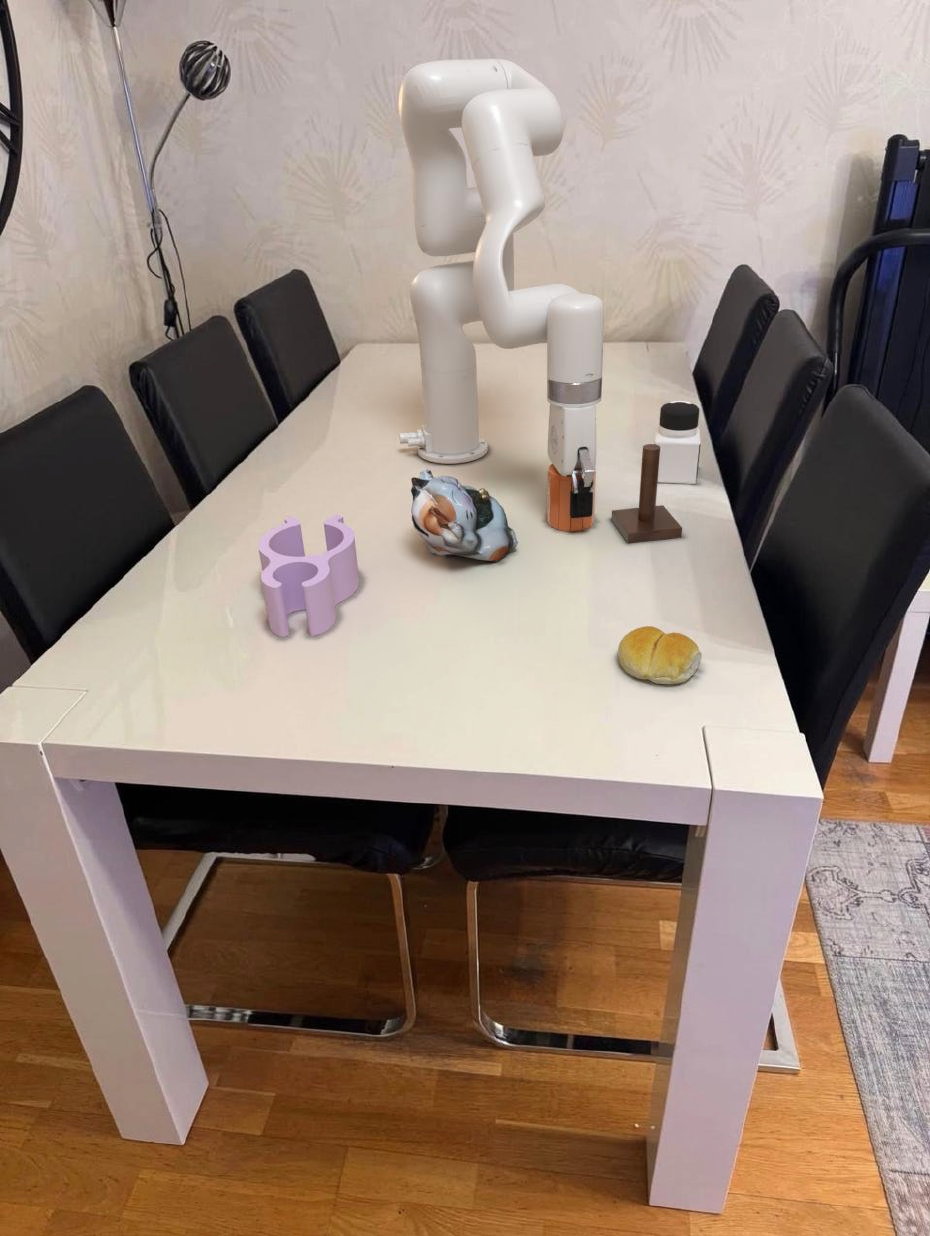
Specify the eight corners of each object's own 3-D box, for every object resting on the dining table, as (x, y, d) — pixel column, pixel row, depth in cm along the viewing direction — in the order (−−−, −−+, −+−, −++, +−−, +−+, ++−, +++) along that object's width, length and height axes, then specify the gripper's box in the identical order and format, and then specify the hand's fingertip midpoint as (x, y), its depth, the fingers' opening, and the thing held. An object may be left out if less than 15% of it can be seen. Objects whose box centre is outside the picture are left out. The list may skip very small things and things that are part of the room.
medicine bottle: (696, 484, 144) (704, 412, 138) (651, 482, 146) (656, 411, 140) (695, 468, 150) (703, 398, 144) (652, 466, 152) (657, 396, 146)
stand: (627, 543, 128) (632, 459, 121) (611, 520, 135) (615, 439, 128) (681, 537, 129) (689, 454, 122) (662, 514, 135) (669, 434, 129)
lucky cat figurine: (528, 560, 124) (496, 495, 114) (451, 598, 125) (412, 538, 115) (495, 492, 134) (462, 426, 123) (423, 529, 135) (385, 467, 124)
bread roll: (634, 637, 107) (636, 608, 105) (707, 658, 102) (710, 629, 100) (604, 672, 101) (605, 642, 99) (679, 695, 97) (683, 665, 95)
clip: (349, 634, 110) (342, 585, 106) (247, 637, 110) (238, 588, 106) (364, 558, 127) (359, 514, 123) (276, 561, 127) (269, 517, 123)
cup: (553, 533, 131) (554, 479, 127) (543, 514, 137) (543, 461, 133) (598, 528, 132) (601, 474, 128) (586, 509, 138) (588, 457, 134)
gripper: (533, 374, 131) (534, 484, 140) (563, 410, 116) (562, 530, 125) (583, 370, 132) (581, 479, 141) (619, 405, 117) (614, 524, 126)
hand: (572, 503), depth 133 cm, fingers open, 9 cm apart
